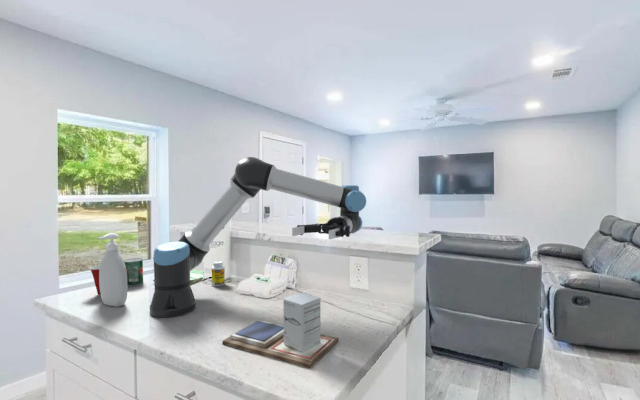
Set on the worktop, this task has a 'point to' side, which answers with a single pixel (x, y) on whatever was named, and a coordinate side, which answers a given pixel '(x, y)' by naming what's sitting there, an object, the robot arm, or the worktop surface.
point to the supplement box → (302, 321)
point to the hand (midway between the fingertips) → (310, 233)
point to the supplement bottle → (218, 274)
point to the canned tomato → (134, 271)
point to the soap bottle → (112, 274)
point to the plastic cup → (96, 277)
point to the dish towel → (194, 276)
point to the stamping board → (277, 344)
